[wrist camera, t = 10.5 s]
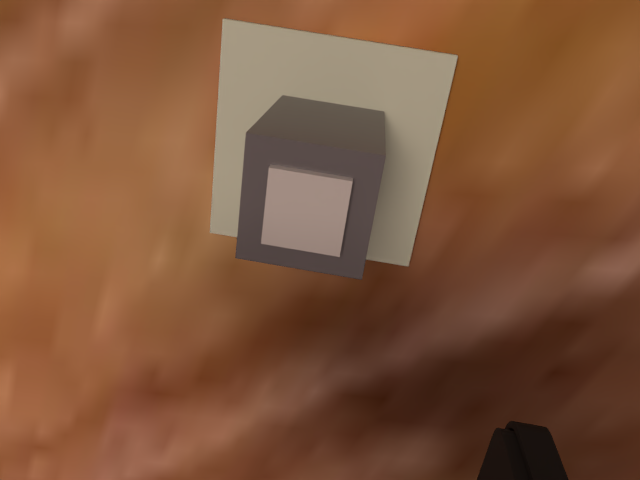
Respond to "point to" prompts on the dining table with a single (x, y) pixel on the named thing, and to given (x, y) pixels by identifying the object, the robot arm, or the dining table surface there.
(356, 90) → the felt pad
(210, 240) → the dining table surface
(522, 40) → the dining table surface
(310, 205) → the block
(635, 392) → the dining table surface
